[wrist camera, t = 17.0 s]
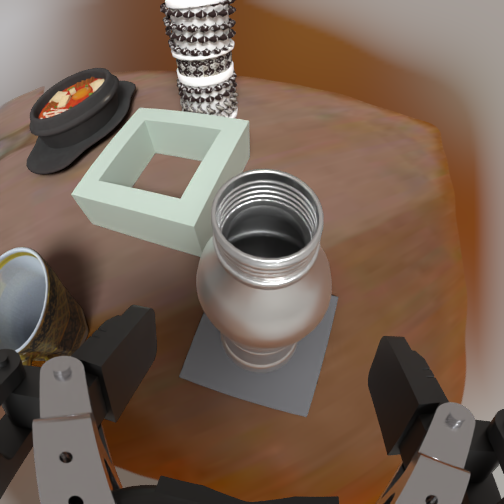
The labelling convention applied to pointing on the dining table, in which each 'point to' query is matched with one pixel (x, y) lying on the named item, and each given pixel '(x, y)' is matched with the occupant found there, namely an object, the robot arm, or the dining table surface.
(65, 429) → the robot arm
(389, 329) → the dining table surface
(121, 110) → the casserole
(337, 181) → the dining table surface
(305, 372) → the rubber mat
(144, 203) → the holder block
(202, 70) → the black and white cylinder
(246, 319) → the plastic bottle
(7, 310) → the ceramic cup
